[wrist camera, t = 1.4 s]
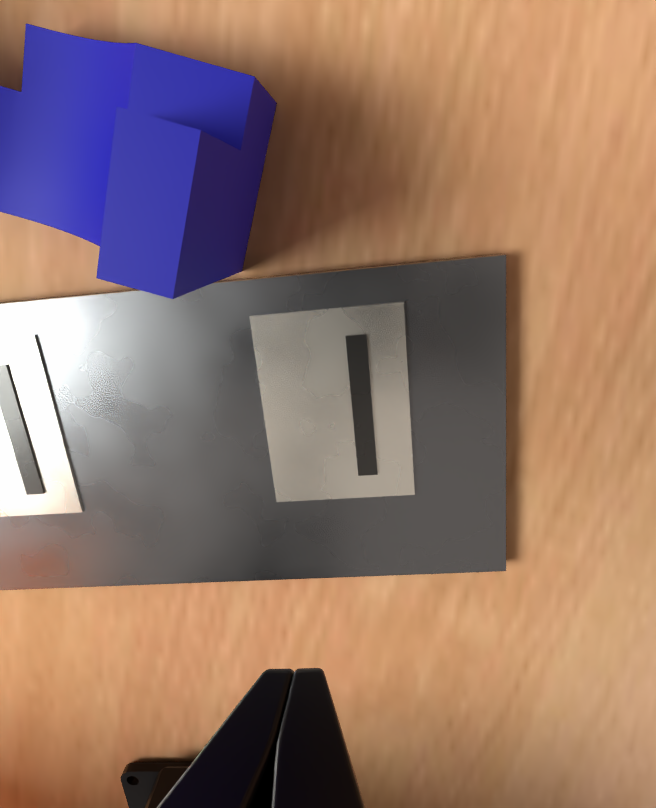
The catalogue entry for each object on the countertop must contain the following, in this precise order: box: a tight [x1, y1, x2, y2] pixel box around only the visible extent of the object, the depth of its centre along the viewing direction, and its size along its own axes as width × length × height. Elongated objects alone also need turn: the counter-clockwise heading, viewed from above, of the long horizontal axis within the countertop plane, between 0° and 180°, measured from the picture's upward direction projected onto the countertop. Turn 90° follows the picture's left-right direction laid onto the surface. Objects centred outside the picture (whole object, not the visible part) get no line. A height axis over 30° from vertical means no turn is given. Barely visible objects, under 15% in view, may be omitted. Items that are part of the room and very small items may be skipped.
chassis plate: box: [0, 254, 506, 590], centre depth 18 cm, size 10×22×1 cm, turn 96°
